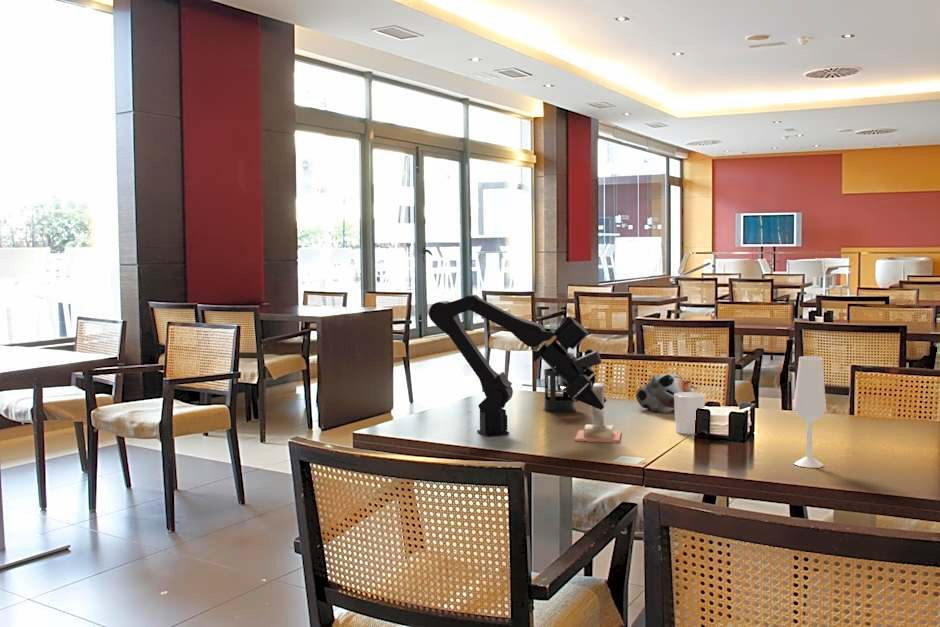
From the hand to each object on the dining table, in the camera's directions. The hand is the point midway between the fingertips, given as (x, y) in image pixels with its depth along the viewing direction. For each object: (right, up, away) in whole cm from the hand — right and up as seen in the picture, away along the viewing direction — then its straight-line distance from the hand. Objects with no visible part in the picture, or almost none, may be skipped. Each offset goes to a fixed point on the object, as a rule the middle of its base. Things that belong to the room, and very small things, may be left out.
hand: (603, 405), depth 227 cm
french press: (-7, -6, +40) cm, 41 cm away
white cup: (+23, -8, +6) cm, 25 cm away
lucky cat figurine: (+24, -6, +37) cm, 44 cm away
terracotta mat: (-1, -8, +1) cm, 8 cm away
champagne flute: (+41, -10, -30) cm, 52 cm away
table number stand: (-1, -8, +1) cm, 8 cm away
